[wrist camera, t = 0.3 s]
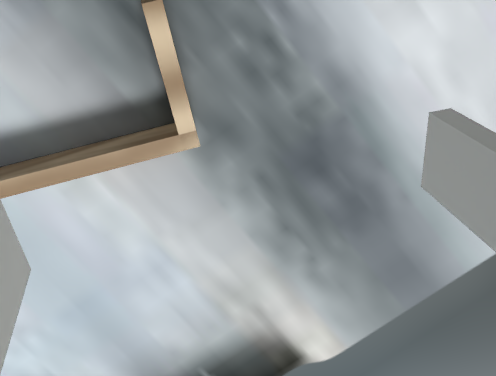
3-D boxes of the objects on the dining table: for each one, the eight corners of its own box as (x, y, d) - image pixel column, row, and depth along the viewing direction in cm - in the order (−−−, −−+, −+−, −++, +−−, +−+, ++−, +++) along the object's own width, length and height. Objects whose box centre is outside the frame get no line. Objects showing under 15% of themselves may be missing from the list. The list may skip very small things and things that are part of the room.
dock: (-207, 77, 33) (-236, 89, 30) (159, -6, 36) (161, -1, 33) (-111, 212, 39) (-128, 232, 37) (195, 133, 42) (200, 146, 39)
